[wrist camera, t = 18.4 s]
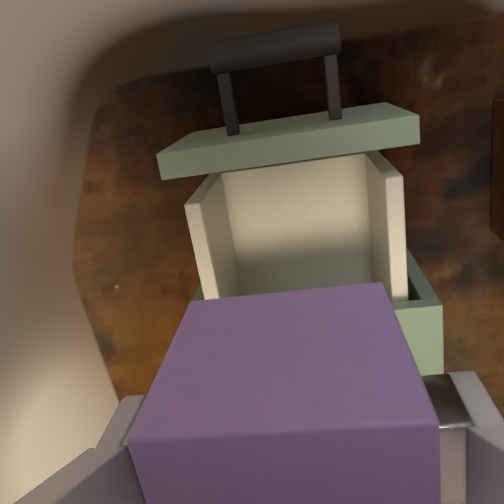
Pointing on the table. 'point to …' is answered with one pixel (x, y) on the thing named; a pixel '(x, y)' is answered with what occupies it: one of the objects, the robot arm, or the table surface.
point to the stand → (497, 170)
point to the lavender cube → (289, 405)
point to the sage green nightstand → (415, 320)
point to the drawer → (295, 182)
